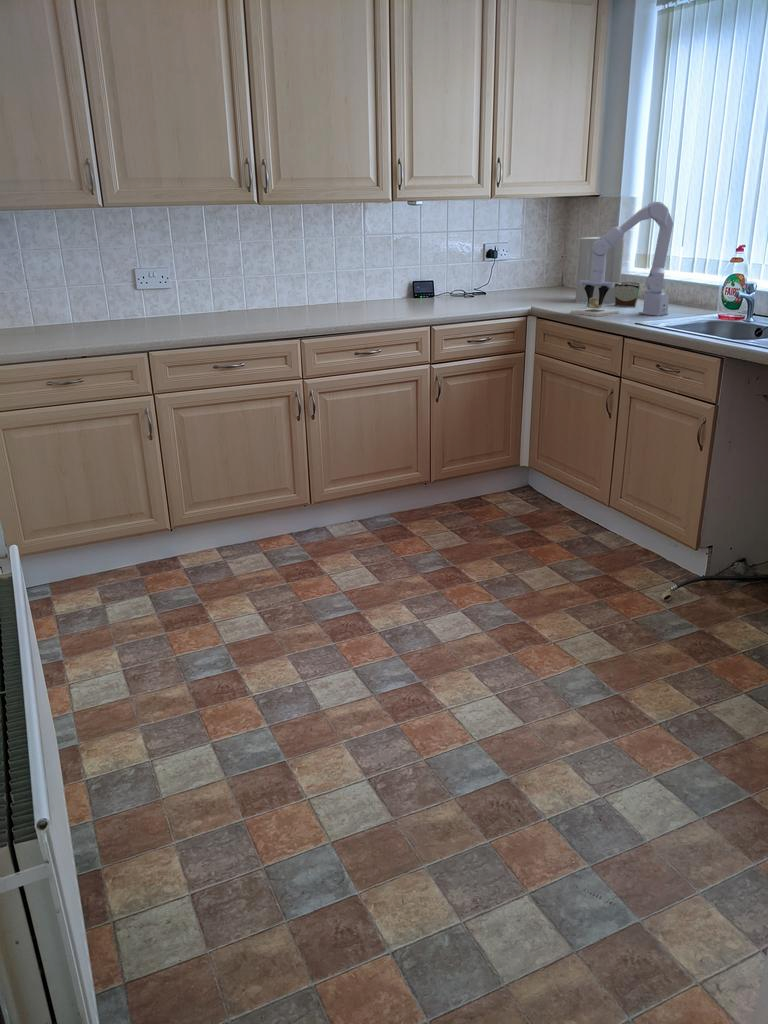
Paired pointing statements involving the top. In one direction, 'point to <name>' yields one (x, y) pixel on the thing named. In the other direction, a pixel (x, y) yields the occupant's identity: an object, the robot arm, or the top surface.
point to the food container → (626, 293)
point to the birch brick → (594, 303)
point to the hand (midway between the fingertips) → (595, 304)
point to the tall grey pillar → (611, 270)
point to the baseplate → (594, 311)
